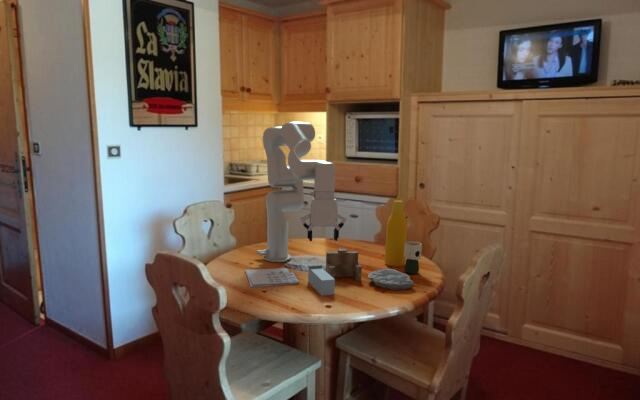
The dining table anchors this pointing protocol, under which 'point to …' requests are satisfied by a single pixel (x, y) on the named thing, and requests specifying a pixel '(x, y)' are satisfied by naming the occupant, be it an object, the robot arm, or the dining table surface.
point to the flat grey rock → (391, 279)
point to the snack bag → (270, 277)
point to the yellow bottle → (396, 236)
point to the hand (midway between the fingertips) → (323, 240)
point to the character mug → (412, 256)
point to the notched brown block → (343, 264)
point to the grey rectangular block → (321, 280)
